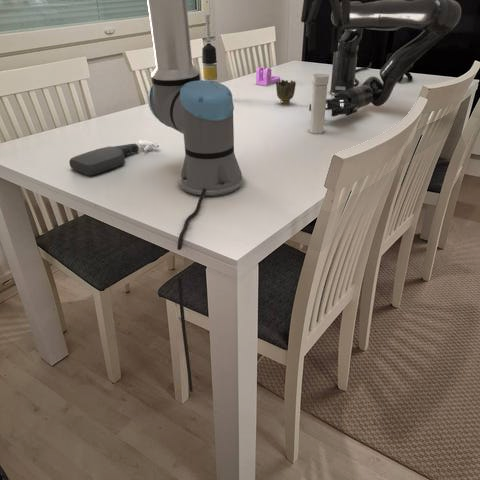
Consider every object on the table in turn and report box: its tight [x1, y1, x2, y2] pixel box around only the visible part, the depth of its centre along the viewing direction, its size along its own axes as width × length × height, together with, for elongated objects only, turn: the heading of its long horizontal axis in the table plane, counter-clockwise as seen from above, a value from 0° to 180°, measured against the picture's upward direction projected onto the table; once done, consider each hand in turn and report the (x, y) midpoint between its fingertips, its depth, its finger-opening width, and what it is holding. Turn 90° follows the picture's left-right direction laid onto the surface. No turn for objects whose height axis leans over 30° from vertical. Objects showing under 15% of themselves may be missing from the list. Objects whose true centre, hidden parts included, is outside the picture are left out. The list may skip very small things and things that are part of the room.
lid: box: [311, 73, 330, 86], centre depth 134 cm, size 5×5×2 cm
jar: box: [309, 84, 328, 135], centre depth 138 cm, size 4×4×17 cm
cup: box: [275, 79, 297, 106], centre depth 168 cm, size 8×7×8 cm
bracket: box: [255, 66, 281, 87], centre depth 199 cm, size 13×6×7 cm, turn 143°
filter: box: [201, 14, 218, 82], centre depth 171 cm, size 6×6×30 cm
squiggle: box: [385, 52, 414, 83], centre depth 198 cm, size 11×10×15 cm
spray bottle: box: [68, 139, 160, 177], centre depth 124 cm, size 3×11×24 cm
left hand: (322, 50), depth 130 cm, fingers open, 7 cm apart
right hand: (321, 110), depth 140 cm, fingers open, 8 cm apart
